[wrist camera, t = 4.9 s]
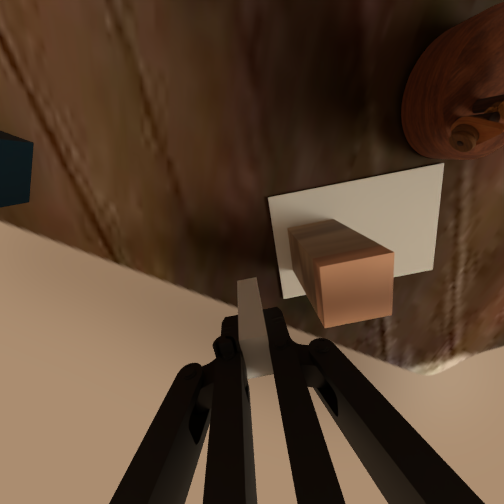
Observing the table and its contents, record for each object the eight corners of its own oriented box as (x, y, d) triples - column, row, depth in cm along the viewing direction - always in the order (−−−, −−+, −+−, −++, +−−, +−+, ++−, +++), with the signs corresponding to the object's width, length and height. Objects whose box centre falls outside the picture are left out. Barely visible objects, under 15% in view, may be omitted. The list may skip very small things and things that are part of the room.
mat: (267, 197, 24) (268, 197, 23) (441, 163, 24) (444, 163, 23) (283, 297, 28) (283, 298, 28) (430, 268, 28) (432, 269, 28)
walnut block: (287, 228, 25) (319, 267, 15) (333, 219, 25) (394, 252, 15) (292, 270, 26) (324, 328, 17) (336, 261, 26) (391, 314, 17)
